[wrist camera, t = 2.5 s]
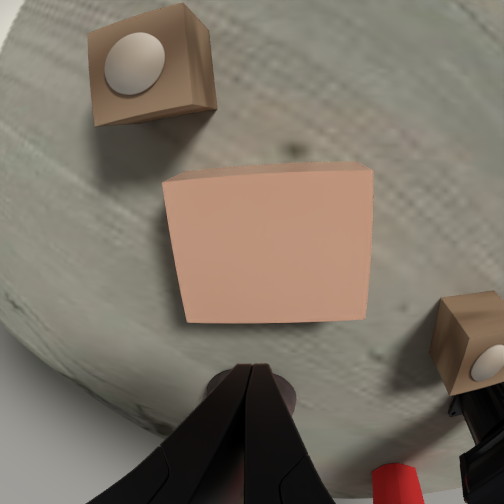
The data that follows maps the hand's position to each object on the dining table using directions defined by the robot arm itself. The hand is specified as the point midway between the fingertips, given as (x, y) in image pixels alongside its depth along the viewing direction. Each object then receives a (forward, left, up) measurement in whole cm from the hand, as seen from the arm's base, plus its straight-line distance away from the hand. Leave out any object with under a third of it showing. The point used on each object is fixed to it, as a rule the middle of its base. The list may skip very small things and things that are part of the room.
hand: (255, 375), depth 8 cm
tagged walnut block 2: (-8, -14, -12) cm, 20 cm away
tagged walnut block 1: (+10, +5, -12) cm, 17 cm away
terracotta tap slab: (0, 0, -12) cm, 12 cm away
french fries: (-31, -13, -12) cm, 35 cm away
